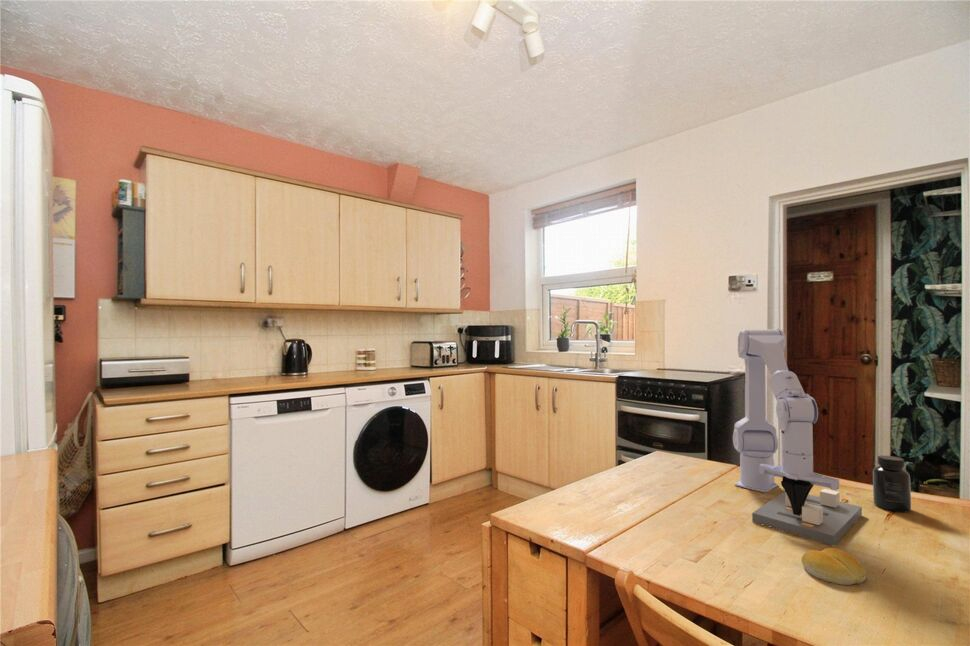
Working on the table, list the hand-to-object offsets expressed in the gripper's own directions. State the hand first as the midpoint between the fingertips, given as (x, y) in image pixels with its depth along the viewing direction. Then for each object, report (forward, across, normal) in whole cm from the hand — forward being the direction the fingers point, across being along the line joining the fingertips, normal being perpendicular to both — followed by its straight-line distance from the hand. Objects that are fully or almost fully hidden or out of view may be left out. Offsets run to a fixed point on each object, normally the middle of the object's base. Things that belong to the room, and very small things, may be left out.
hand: (797, 513), depth 100 cm
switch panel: (+3, 0, +7) cm, 8 cm away
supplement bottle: (+3, +11, +30) cm, 32 cm away
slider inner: (+1, +2, +14) cm, 14 cm away
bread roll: (+3, +10, -17) cm, 20 cm away
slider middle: (+1, -3, +7) cm, 8 cm away
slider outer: (+1, +3, 0) cm, 3 cm away
